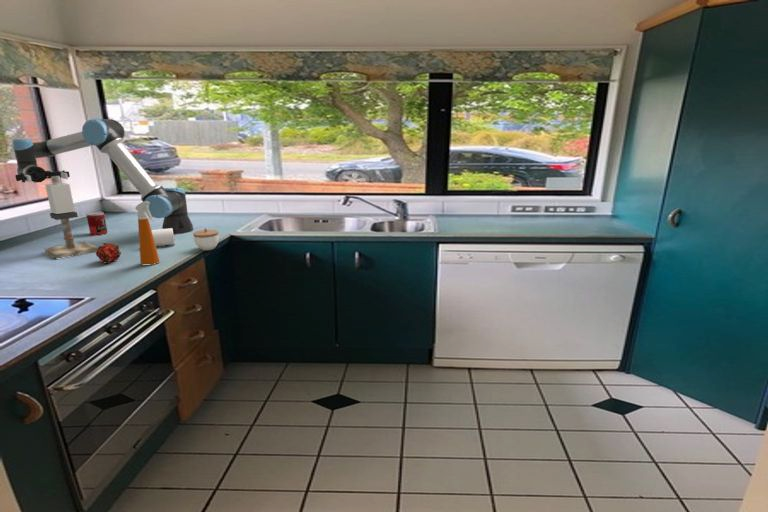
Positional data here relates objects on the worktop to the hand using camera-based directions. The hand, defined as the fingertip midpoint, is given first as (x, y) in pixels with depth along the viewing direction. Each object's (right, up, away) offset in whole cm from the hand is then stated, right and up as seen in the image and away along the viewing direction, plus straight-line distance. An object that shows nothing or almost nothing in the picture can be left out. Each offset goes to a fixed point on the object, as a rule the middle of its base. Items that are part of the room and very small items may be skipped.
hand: (48, 177), depth 199 cm
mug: (+43, -30, +15) cm, 55 cm away
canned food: (-1, -23, +36) cm, 43 cm away
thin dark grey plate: (+8, -18, -1) cm, 19 cm away
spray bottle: (+53, -38, -14) cm, 67 cm away
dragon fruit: (+34, -37, -10) cm, 51 cm away
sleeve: (+8, -15, -2) cm, 17 cm away
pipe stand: (+8, -33, +4) cm, 34 cm away
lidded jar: (+67, -32, +8) cm, 75 cm away
